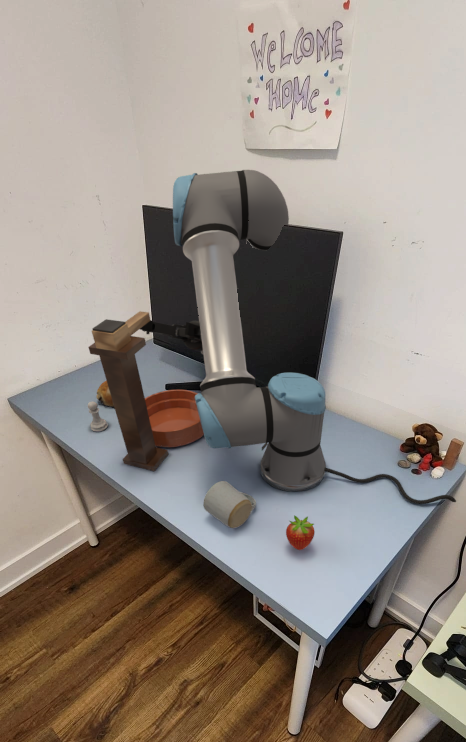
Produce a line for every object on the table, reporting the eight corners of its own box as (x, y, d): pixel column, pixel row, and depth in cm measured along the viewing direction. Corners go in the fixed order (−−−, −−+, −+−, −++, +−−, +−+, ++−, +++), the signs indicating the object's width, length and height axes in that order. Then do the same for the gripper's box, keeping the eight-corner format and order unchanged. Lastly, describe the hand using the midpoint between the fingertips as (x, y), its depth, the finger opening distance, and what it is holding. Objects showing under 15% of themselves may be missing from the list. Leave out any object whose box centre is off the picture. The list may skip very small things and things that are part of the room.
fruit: (291, 560, 82) (293, 533, 77) (281, 540, 86) (283, 513, 80) (316, 552, 83) (320, 526, 78) (306, 534, 87) (309, 507, 81)
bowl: (222, 413, 120) (220, 396, 116) (190, 455, 107) (187, 438, 103) (160, 401, 126) (157, 384, 122) (123, 440, 113) (118, 423, 109)
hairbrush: (155, 321, 92) (152, 302, 89) (117, 351, 82) (112, 331, 80) (136, 318, 94) (132, 300, 91) (96, 348, 84) (90, 328, 81)
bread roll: (125, 417, 127) (131, 396, 122) (91, 406, 124) (95, 383, 119) (132, 400, 134) (137, 379, 129) (99, 388, 131) (104, 366, 126)
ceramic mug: (230, 536, 87) (229, 511, 82) (204, 517, 91) (200, 491, 86) (264, 510, 92) (265, 484, 87) (238, 492, 97) (237, 466, 91)
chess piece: (87, 430, 117) (78, 405, 112) (97, 421, 120) (88, 396, 115) (102, 433, 116) (93, 408, 110) (111, 423, 119) (103, 398, 113)
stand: (168, 454, 108) (144, 337, 86) (154, 471, 103) (126, 352, 82) (138, 447, 111) (108, 332, 89) (123, 463, 106) (88, 347, 85)
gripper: (239, 357, 115) (207, 348, 96) (160, 345, 123) (115, 335, 104) (243, 327, 113) (211, 313, 94) (162, 318, 121) (117, 303, 102)
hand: (161, 325), depth 99 cm, fingers open, 13 cm apart
